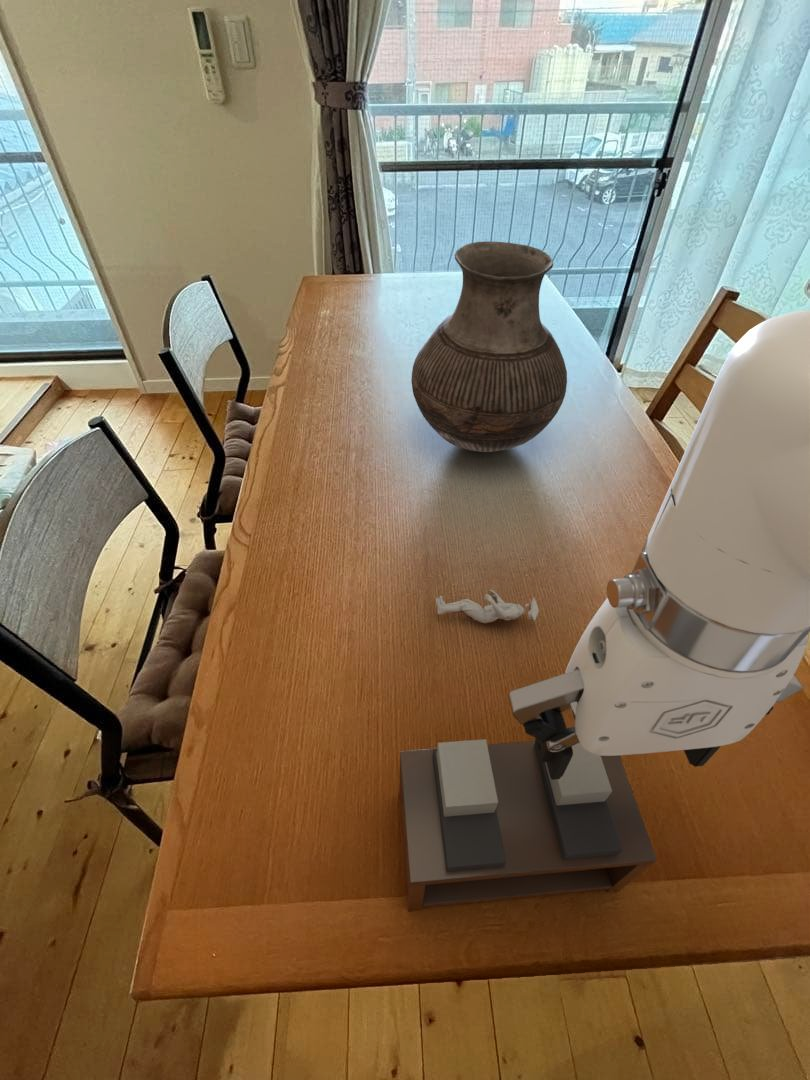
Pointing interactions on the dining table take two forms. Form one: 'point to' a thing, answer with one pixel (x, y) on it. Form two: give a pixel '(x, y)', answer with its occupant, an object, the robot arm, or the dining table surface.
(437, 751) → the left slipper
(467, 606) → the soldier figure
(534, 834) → the shoe rack
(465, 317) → the vase
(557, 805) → the right slipper
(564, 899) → the dining table surface
